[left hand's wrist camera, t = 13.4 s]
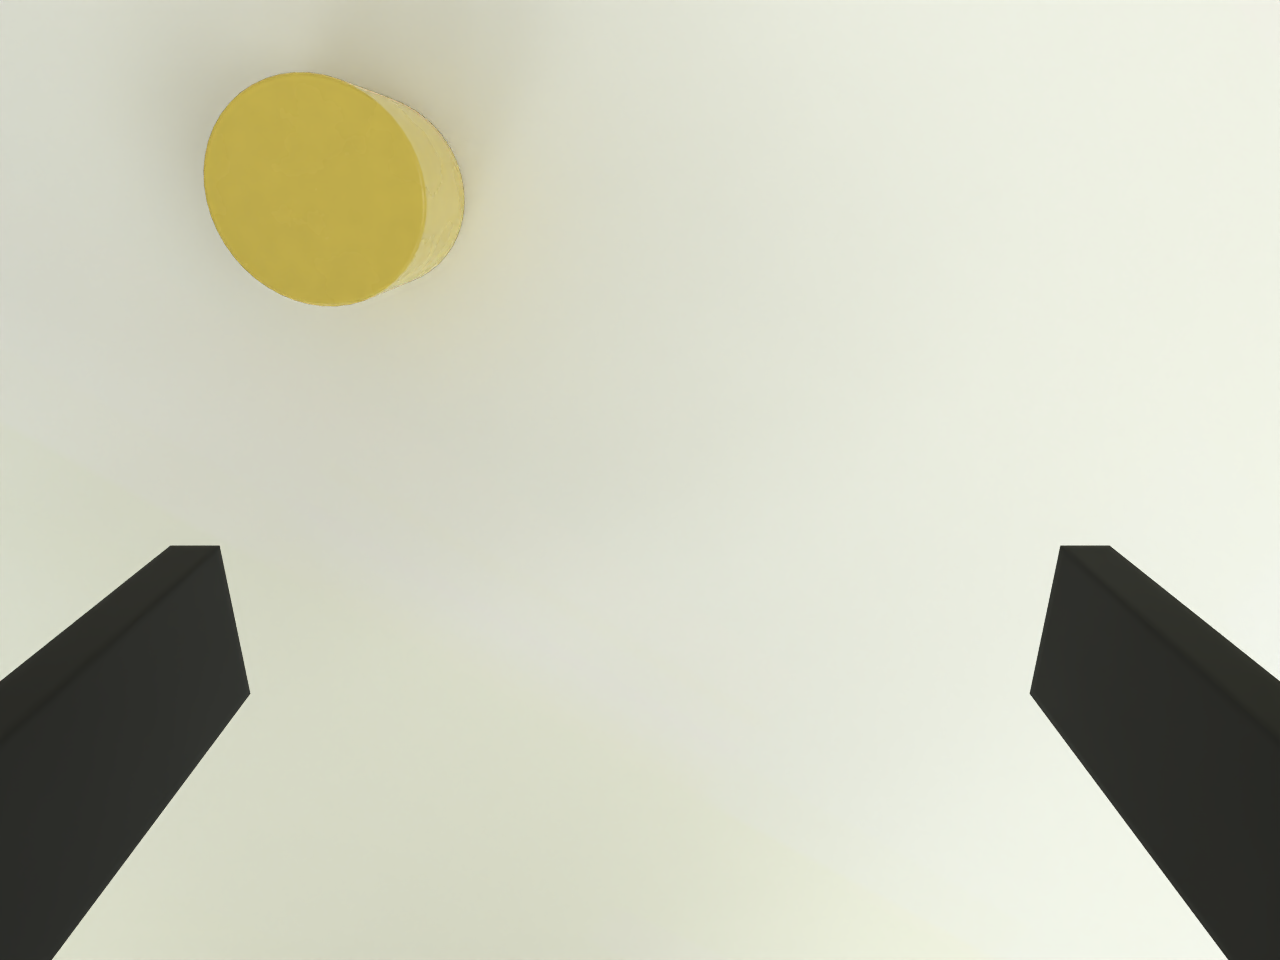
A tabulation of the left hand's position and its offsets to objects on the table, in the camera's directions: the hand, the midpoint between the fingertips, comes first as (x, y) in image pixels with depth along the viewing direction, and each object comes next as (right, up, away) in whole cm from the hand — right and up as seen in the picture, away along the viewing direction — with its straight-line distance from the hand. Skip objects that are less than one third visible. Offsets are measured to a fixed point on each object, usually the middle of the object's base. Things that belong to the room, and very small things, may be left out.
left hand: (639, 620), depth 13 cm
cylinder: (-7, +10, +8) cm, 15 cm away
